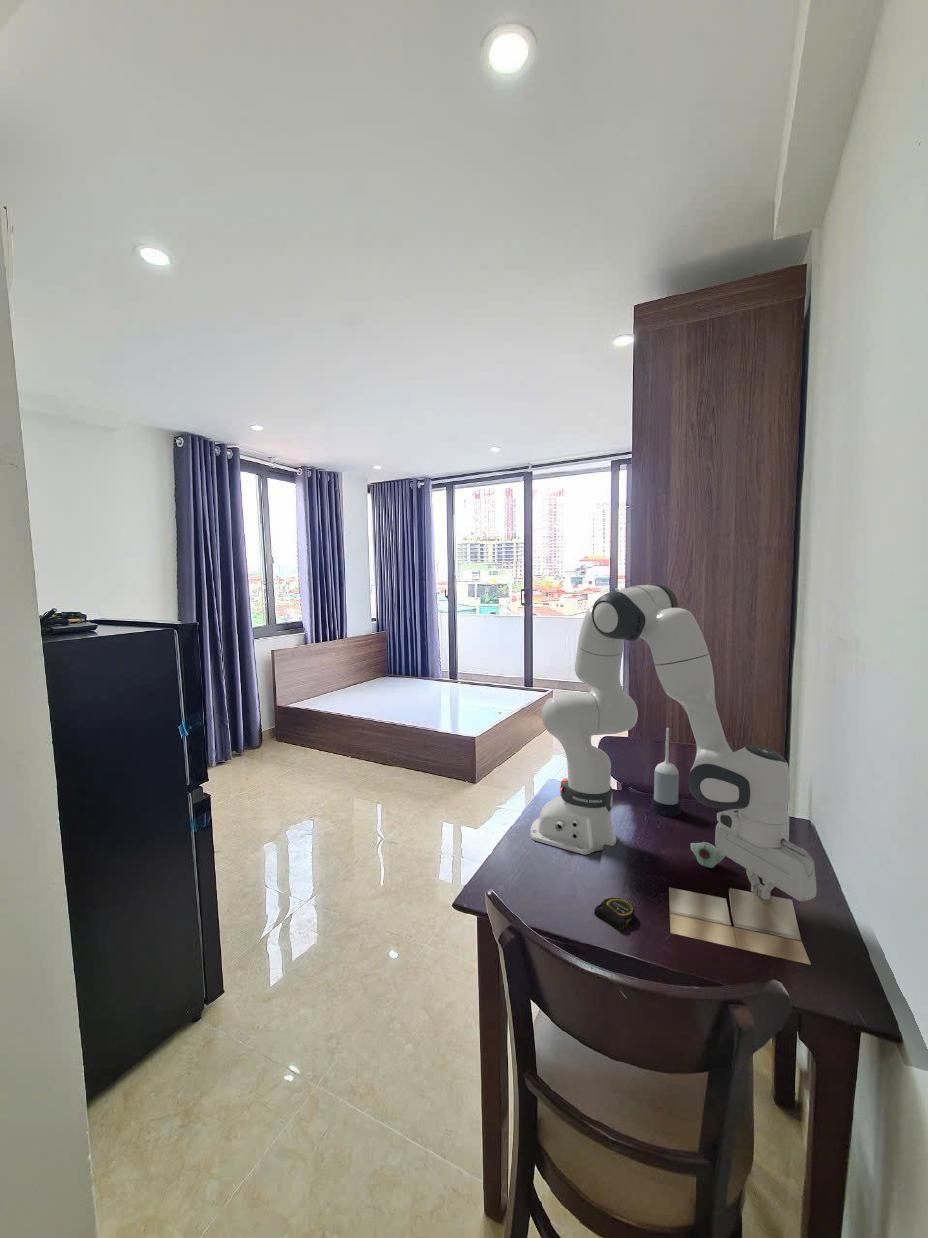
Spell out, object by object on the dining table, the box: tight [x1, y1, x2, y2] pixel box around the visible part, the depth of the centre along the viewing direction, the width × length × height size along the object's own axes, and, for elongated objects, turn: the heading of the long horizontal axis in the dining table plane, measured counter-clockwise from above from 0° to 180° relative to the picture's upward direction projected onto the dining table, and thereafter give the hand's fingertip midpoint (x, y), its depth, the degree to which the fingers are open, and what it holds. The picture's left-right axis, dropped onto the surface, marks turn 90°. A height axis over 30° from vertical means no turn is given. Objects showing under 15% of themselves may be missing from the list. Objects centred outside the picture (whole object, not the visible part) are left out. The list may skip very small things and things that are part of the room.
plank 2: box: [728, 887, 802, 942], centre depth 97 cm, size 11×8×2 cm
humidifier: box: [650, 727, 682, 818], centre depth 148 cm, size 8×8×25 cm
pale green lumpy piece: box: [690, 841, 726, 869], centre depth 117 cm, size 8×4×7 cm, turn 49°
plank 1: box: [668, 887, 732, 927], centre depth 102 cm, size 11×8×2 cm
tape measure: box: [594, 897, 637, 934], centre depth 99 cm, size 7×7×4 cm
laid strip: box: [669, 913, 812, 966], centre depth 93 cm, size 22×6×2 cm, turn 69°
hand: (760, 895), depth 100 cm, fingers closed, pressing on plank 2
